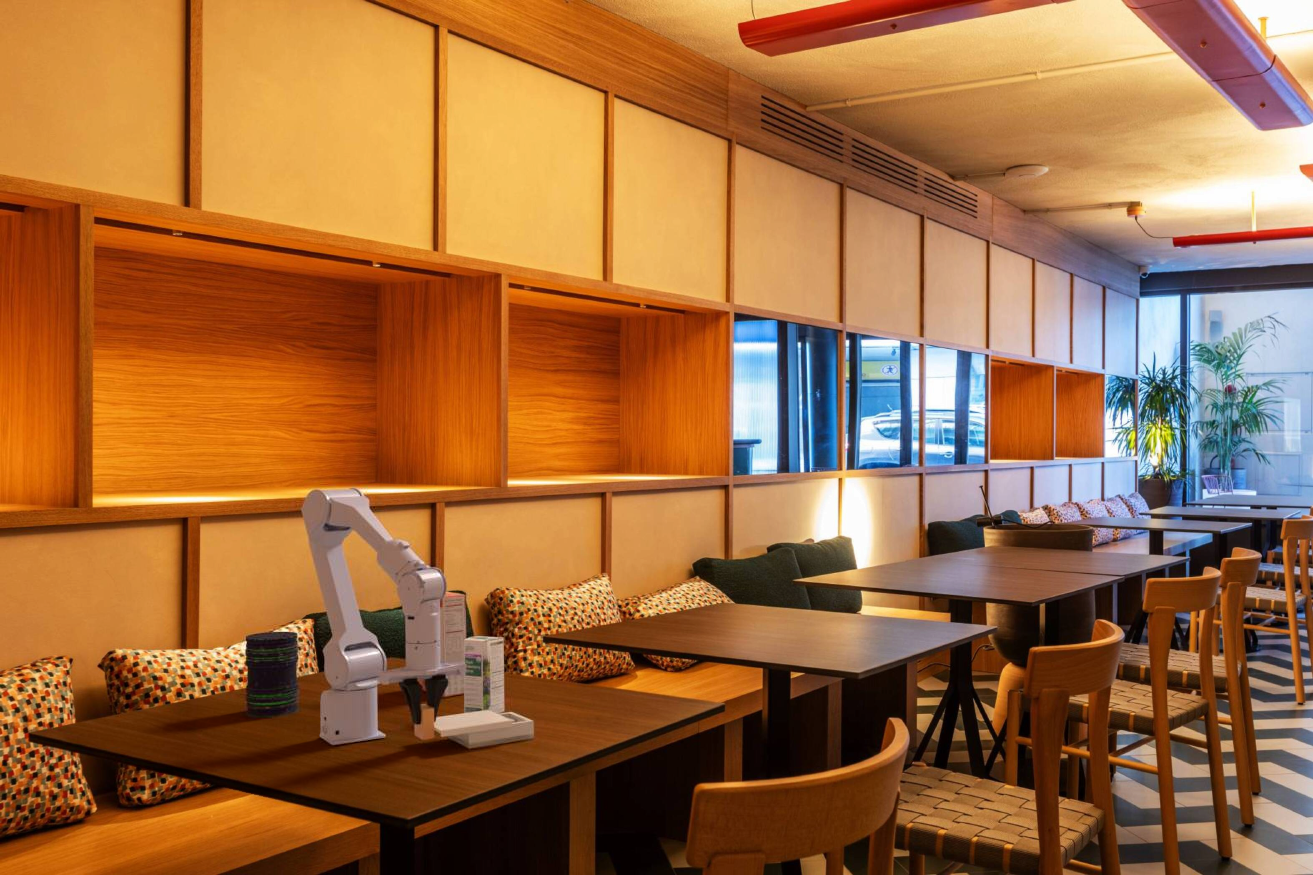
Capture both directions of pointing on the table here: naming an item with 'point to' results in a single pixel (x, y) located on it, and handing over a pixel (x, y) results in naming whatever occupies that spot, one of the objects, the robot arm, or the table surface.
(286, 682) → the storage jar
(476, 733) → the tub
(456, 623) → the cracker box
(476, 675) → the syrup box
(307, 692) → the table surface
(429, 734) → the lid
